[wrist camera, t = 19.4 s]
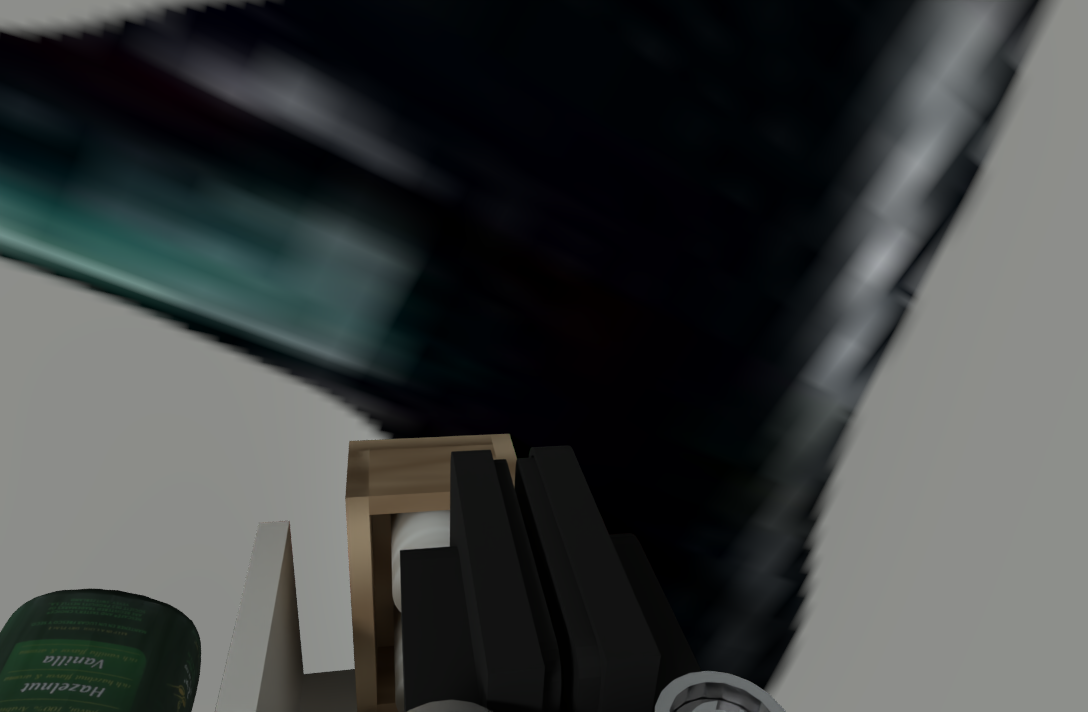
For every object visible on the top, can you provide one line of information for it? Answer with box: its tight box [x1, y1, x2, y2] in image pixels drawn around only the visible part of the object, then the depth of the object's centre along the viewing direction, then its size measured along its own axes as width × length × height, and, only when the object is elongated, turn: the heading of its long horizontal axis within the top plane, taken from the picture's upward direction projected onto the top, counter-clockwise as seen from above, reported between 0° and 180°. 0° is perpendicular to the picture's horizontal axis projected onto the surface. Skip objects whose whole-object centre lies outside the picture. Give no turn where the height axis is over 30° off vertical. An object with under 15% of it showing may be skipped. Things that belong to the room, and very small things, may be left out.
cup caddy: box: [345, 434, 517, 712], centre depth 32 cm, size 11×6×6 cm, turn 177°
